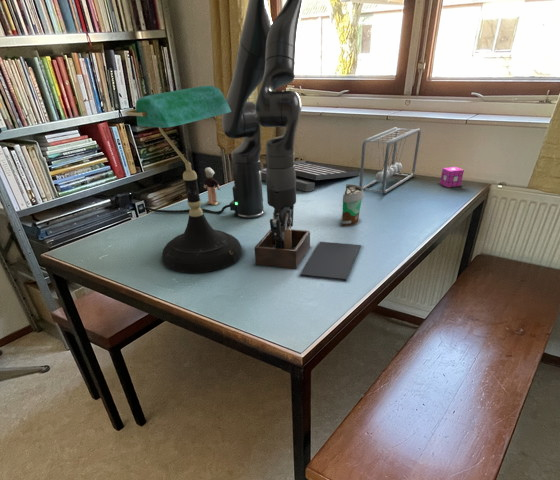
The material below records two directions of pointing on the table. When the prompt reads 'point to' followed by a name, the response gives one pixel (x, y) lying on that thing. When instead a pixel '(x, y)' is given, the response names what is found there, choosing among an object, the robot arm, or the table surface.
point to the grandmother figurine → (211, 186)
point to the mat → (331, 261)
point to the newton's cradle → (395, 167)
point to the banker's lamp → (190, 179)
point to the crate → (282, 250)
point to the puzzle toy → (451, 177)
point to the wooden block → (287, 238)
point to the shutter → (315, 173)
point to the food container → (351, 204)
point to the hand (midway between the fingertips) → (283, 248)
